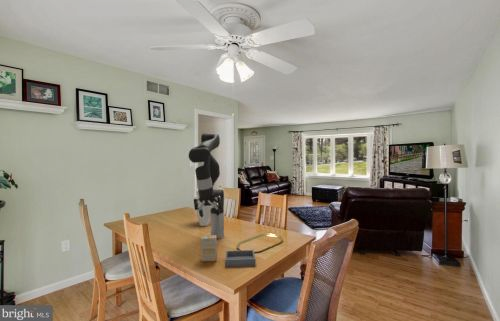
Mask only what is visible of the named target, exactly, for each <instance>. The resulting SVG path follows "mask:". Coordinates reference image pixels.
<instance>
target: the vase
mask: <svg viewBox="0 0 500 321" xmlns="http://www.w3.org/2000/svg"><path fill="white" fill-rule="evenodd" d="M195 192H196V195H197V198H199V192H198V188H197V189H195ZM200 205H201V202H200V201H198V207H200ZM211 208H213V206H212V205H211V206H204V205H203V207H202V210H203V217H201V216H200V215H199V210H195V211H196V214H197V217H198V221H199V223H198V224H199V226H201V227H207V226H209V225H210V221H211Z"/></svg>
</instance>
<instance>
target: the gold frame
mask: <svg viewBox="0 0 500 321" xmlns="http://www.w3.org/2000/svg"><path fill="white" fill-rule="evenodd" d="M264 237H273V238H277V239H279V240H280V241H279V242H277V243H274V244H273V245H271V246H270V245H269V246H268V247H266V248H263V249H261V250H256V251H255V250H254V254H255V253H260V252H263V251H265V250H268V249H271V248H272V247H275V246H277V245H279V244H281V243H282V242H283V237H282V236H281V235H278V234H275V233H261V234H258V235H255V236H253V237H250V238H247V239H245V240H242V241H241V240H240V242H238V243H237V244H236V248H237V250H241V248H240V246H242V245H244V244H246V242H247V243H249V242H251V241H253V240H257V239H260V238H264ZM241 244H242V245H241ZM239 248H240V249H239Z"/></svg>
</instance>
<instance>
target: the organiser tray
mask: <svg viewBox="0 0 500 321" xmlns="http://www.w3.org/2000/svg"><path fill="white" fill-rule="evenodd" d="M254 251H255V250H254V249H240V250H239V249H237V250H226V251H225V268H228V267H248V266H249V267H250V266H252V267H255V266H256V256H255V253H254Z"/></svg>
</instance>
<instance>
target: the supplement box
mask: <svg viewBox="0 0 500 321" xmlns="http://www.w3.org/2000/svg"><path fill="white" fill-rule="evenodd" d="M217 241H218V240H217V235H211V234H210V235H202V236H201V238H200V245H201V246H200V248H201V250H200V252H201V255H200V256H201V262H202V263H203V262H205V263H206V262H217V259H218V242H217Z"/></svg>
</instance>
